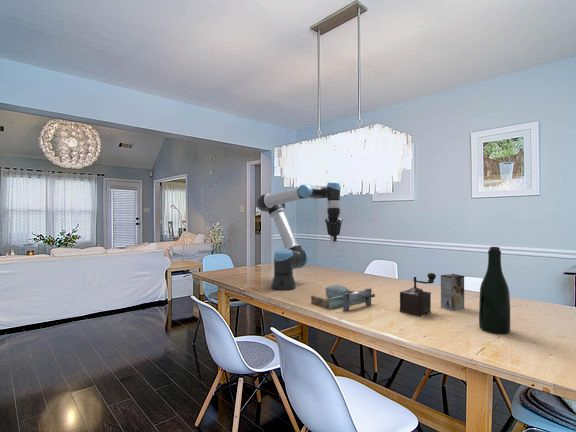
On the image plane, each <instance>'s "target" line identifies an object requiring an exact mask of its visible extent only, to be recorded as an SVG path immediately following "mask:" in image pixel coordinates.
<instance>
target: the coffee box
mask: <svg viewBox="0 0 576 432" xmlns="http://www.w3.org/2000/svg"><path fill="white" fill-rule="evenodd" d="M440 308H442V309H444V310H445V309H446V310H449V311H457V310H462V309H465V275H461V274H456V273H450V274H441V275H440Z"/></svg>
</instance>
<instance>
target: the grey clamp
mask: <svg viewBox="0 0 576 432" xmlns="http://www.w3.org/2000/svg"><path fill="white" fill-rule="evenodd" d="M375 297H376V294H375V293H372V288H365V289H363V290H359V291H354V292H353V293H344V294H343V306H342V310H343V312H349V311H350V305H349V301H352V300H357V299H361V298H365V301H364V303H365V306H368V307H369V306H371V305H372V298H375Z"/></svg>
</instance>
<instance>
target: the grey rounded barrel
mask: <svg viewBox="0 0 576 432" xmlns="http://www.w3.org/2000/svg"><path fill="white" fill-rule="evenodd" d="M344 293H350V292H349V288H347V287H346V286H343V285H340V284H339V285H338V284H331V285H328V286H326V288H325V295H326V297H327V300H329V298H333V297H338V296H343V294H344Z"/></svg>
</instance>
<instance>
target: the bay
mask: <svg viewBox="0 0 576 432" xmlns="http://www.w3.org/2000/svg"><path fill="white" fill-rule="evenodd" d="M348 290H349V289H348ZM349 292H350V293H353V292H355V291H354V290H349ZM310 298H311V304H313V305H317V306H319V307H323V308H325V309H329V310H333V309H337V308H343V296H338V297H333V298H329V299H325V298H323V297H320V296H316V295H311V297H310ZM363 302H365V298H361V299H357V300H352V301H349V306H350V305H354V304H359V303H363Z"/></svg>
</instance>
